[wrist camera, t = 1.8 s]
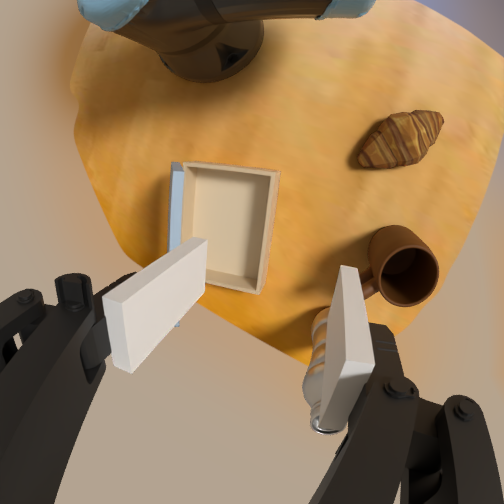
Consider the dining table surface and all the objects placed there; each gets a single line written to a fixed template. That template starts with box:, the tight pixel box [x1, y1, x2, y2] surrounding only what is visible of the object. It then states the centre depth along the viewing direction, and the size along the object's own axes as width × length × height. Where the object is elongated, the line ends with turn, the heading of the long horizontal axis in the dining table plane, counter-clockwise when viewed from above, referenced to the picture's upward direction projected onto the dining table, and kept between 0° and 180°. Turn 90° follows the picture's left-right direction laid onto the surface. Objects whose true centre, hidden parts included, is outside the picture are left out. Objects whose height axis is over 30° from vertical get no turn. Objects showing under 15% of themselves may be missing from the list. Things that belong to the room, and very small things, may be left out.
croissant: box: [357, 110, 444, 168], centre depth 31 cm, size 14×7×5 cm, turn 123°
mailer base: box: [180, 161, 281, 295], centre depth 40 cm, size 16×12×4 cm
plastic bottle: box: [302, 307, 347, 435], centre depth 33 cm, size 6×7×20 cm
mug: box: [359, 225, 439, 307], centre depth 34 cm, size 12×8×9 cm, turn 118°
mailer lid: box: [167, 162, 184, 327], centre depth 33 cm, size 16×12×1 cm
